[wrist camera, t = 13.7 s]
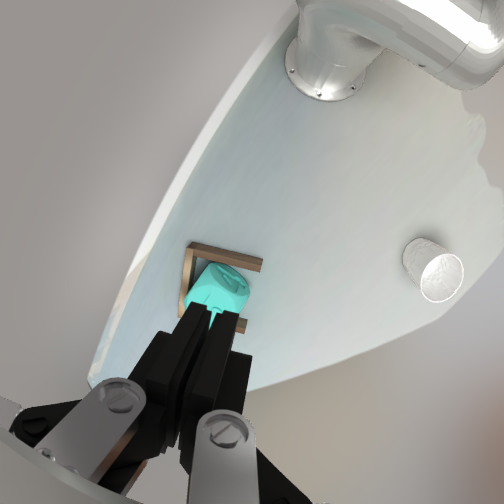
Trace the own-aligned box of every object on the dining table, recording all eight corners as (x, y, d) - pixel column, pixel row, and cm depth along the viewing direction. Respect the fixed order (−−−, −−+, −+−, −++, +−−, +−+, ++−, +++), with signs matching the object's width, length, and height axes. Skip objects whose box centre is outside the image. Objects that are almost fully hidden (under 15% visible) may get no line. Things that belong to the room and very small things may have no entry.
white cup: (394, 274, 49) (414, 300, 40) (404, 231, 46) (428, 250, 37) (430, 278, 49) (454, 304, 39) (441, 237, 46) (469, 257, 37)
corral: (192, 241, 51) (186, 247, 48) (262, 258, 51) (261, 266, 48) (182, 308, 56) (177, 317, 53) (246, 325, 55) (243, 334, 52)
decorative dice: (214, 255, 52) (202, 273, 44) (252, 282, 52) (247, 305, 45) (190, 288, 54) (176, 309, 47) (227, 313, 55) (218, 338, 48)
